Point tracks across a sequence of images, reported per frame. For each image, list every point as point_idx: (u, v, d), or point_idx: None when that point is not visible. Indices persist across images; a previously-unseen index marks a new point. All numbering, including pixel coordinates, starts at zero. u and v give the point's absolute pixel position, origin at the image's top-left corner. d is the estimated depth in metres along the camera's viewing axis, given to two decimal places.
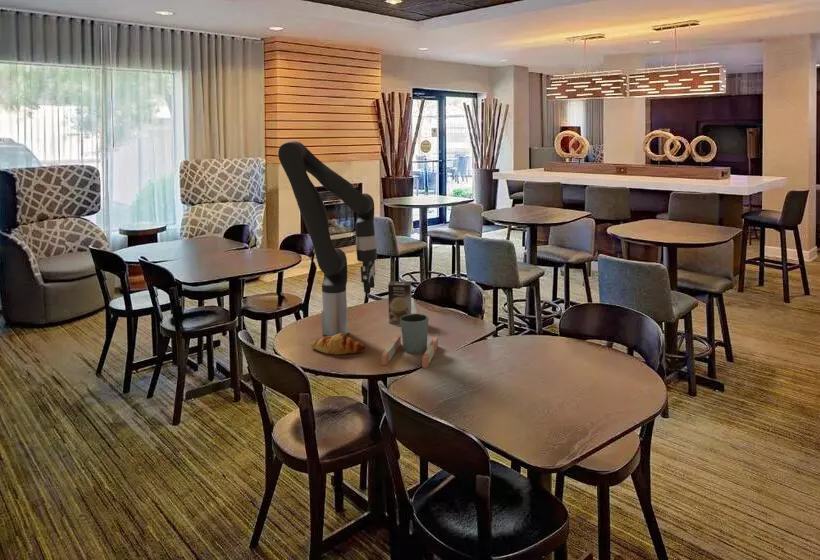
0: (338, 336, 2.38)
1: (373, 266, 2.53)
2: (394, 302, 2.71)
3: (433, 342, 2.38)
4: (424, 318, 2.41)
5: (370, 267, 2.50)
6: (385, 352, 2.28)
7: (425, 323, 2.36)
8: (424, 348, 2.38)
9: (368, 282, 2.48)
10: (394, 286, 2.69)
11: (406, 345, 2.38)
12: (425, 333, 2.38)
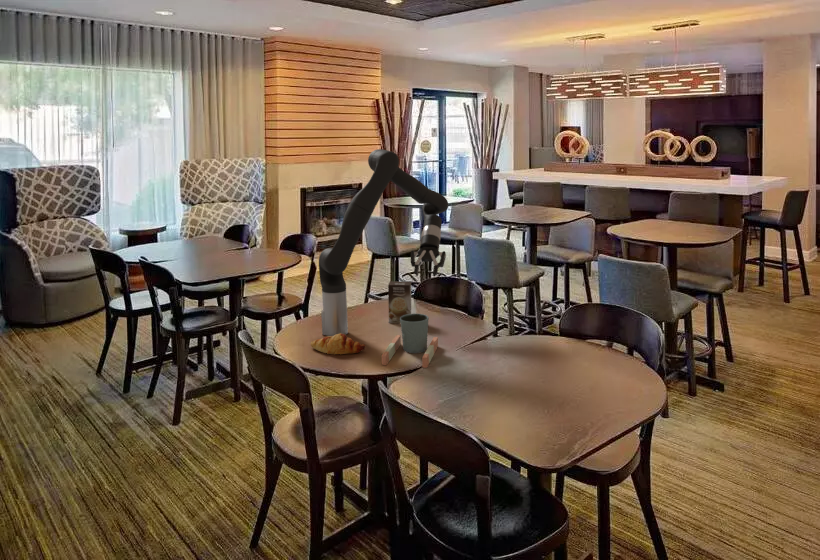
0: (338, 336, 2.38)
1: None
2: (394, 302, 2.71)
3: (433, 342, 2.38)
4: (424, 318, 2.41)
5: None
6: (385, 352, 2.28)
7: (425, 323, 2.36)
8: (424, 348, 2.38)
9: (437, 268, 2.59)
10: (394, 286, 2.69)
11: (406, 345, 2.38)
12: (425, 333, 2.38)
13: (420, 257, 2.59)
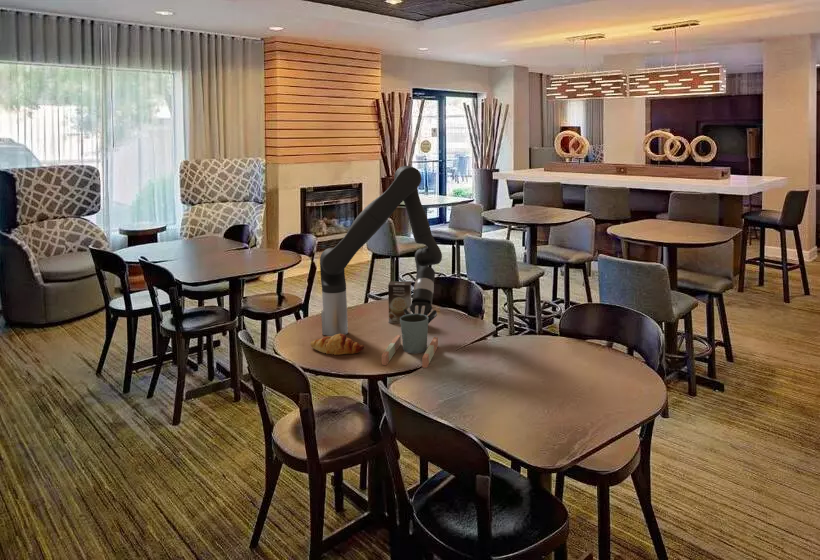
0: (337, 336, 2.38)
1: None
2: (394, 302, 2.71)
3: (433, 342, 2.38)
4: (424, 318, 2.41)
5: None
6: (385, 352, 2.28)
7: (425, 323, 2.36)
8: (424, 348, 2.38)
9: None
10: (394, 286, 2.69)
11: (406, 345, 2.38)
12: (425, 333, 2.37)
13: (416, 313, 2.48)
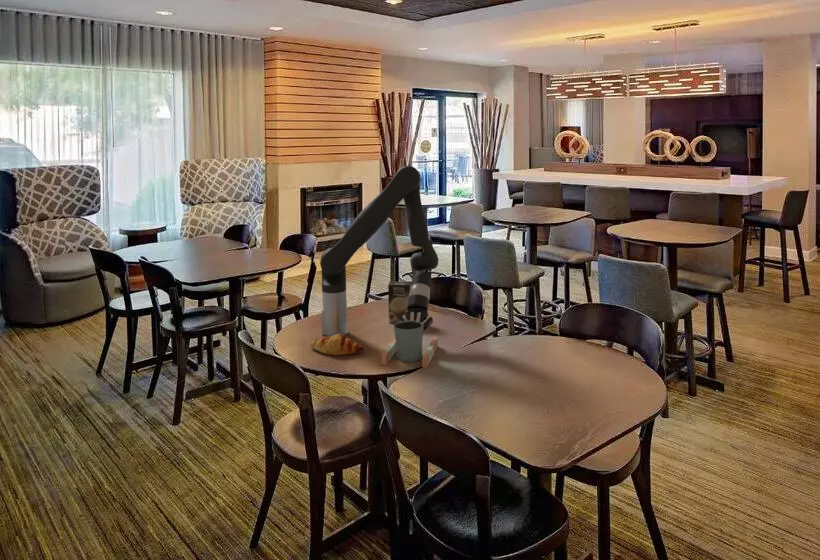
0: (337, 337, 2.37)
1: None
2: (394, 302, 2.71)
3: (433, 342, 2.38)
4: (419, 326, 2.32)
5: None
6: (385, 352, 2.28)
7: (419, 331, 2.27)
8: (418, 357, 2.30)
9: None
10: (394, 286, 2.69)
11: (399, 353, 2.30)
12: (419, 341, 2.29)
13: (412, 320, 2.39)
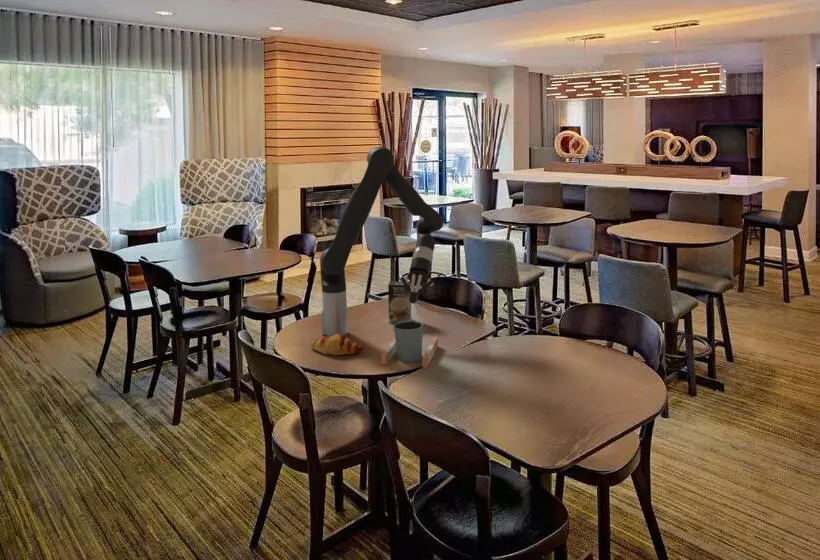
0: (336, 337, 2.37)
1: None
2: (394, 302, 2.71)
3: (433, 342, 2.38)
4: (419, 326, 2.32)
5: None
6: (385, 352, 2.28)
7: (419, 331, 2.27)
8: (418, 357, 2.30)
9: (417, 294, 2.48)
10: (394, 286, 2.69)
11: (399, 353, 2.30)
12: (419, 341, 2.29)
13: (413, 282, 2.48)
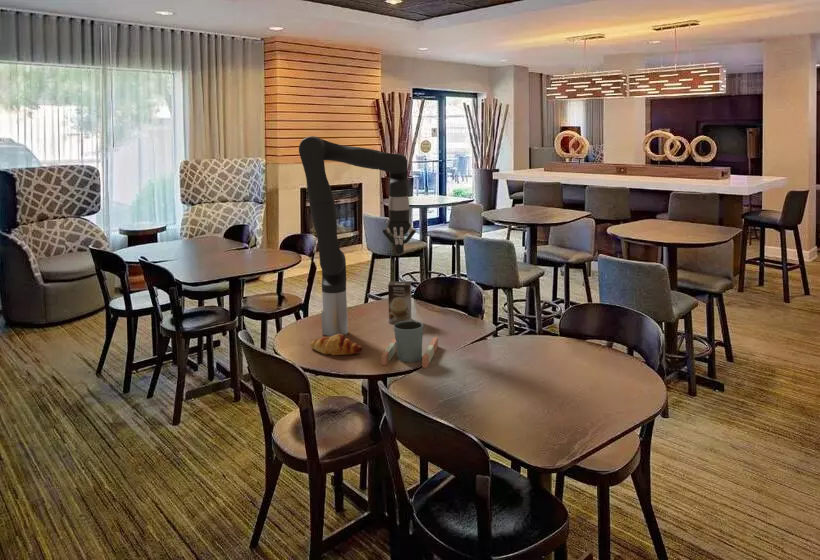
0: (336, 337, 2.37)
1: None
2: (394, 302, 2.71)
3: (433, 342, 2.38)
4: (419, 326, 2.32)
5: None
6: (385, 352, 2.28)
7: (419, 331, 2.27)
8: (418, 357, 2.30)
9: None
10: (394, 286, 2.69)
11: (399, 353, 2.30)
12: (419, 341, 2.29)
13: (395, 236, 2.51)
